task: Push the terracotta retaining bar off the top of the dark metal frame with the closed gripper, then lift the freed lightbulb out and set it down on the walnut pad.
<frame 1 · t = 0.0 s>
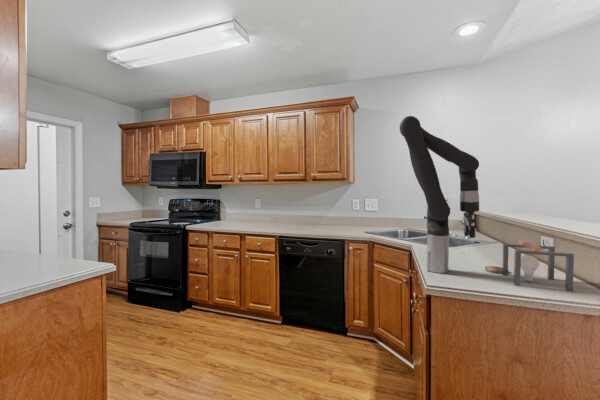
hand: (470, 236, 127), 17 cm above the table, tool pointing down, fingers open, 8 cm apart
pad: (496, 271, 132), on the table
frame: (534, 281, 116), on the table
bar: (529, 245, 116), point 15 cm above the table, slide at 0.0 cm
lightbulb: (528, 281, 117), on the table
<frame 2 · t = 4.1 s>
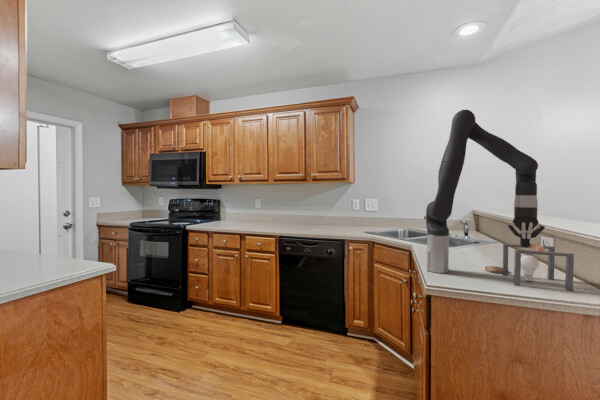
hand: (524, 247, 117), 14 cm above the table, tool pointing down, fingers closed
bar: (532, 245, 116), point 15 cm above the table, slide at 1.1 cm, touching gripper
everything else where it was.
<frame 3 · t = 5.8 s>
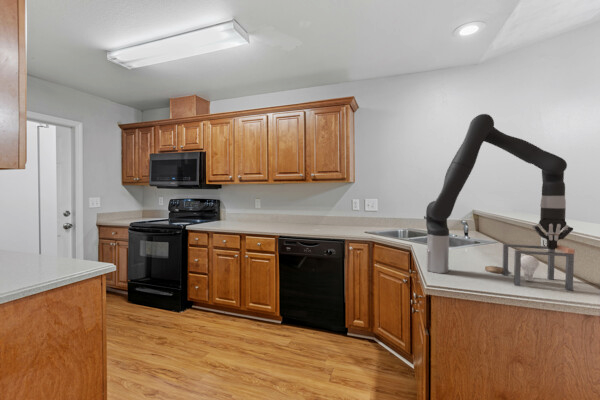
hand: (551, 249, 114), 14 cm above the table, tool pointing down, fingers closed
bar: (560, 247, 113), point 15 cm above the table, slide at 10.2 cm, touching gripper
everything else where it was.
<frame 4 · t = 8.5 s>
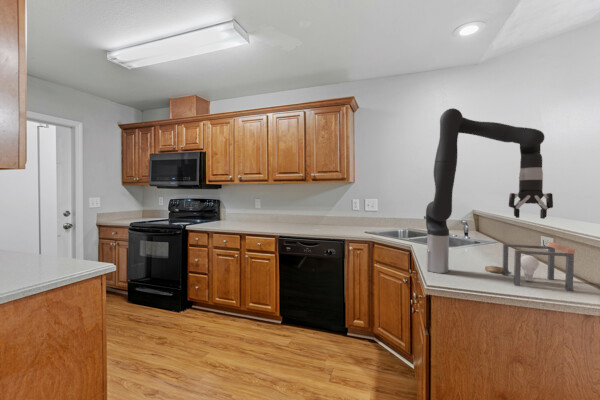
hand: (529, 218, 116), 27 cm above the table, tool pointing down, fingers open, 8 cm apart
bar: (560, 247, 113), point 15 cm above the table, slide at 10.2 cm
everything else where it was.
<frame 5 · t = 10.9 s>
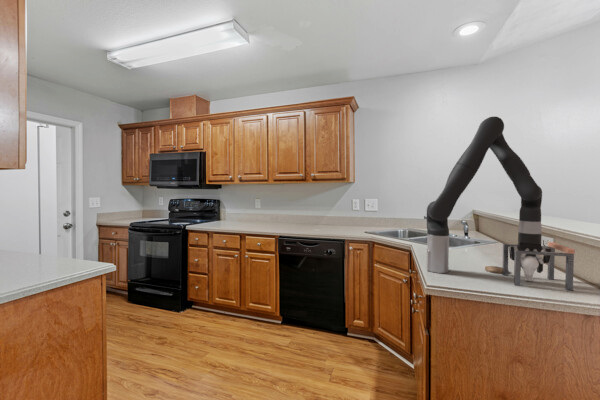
hand: (528, 271, 117), 4 cm above the table, tool pointing down, fingers closed on lightbulb, 6 cm apart
lightbulb: (528, 281, 117), on the table, touching gripper
everything else where it was.
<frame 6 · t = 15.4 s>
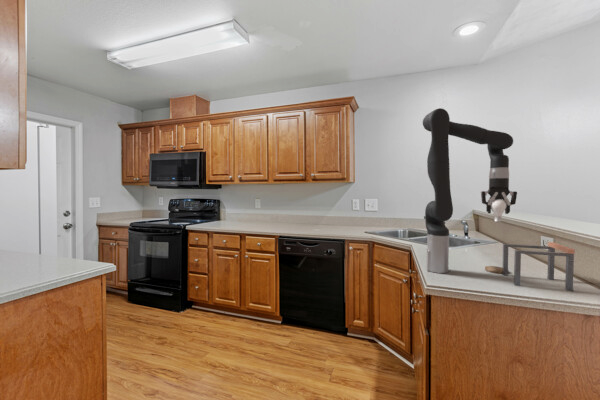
hand: (497, 213, 131), 27 cm above the table, tool pointing down, fingers closed on lightbulb, 6 cm apart
lightbulb: (497, 222, 131), point 23 cm above the table, touching gripper
everything else where it was.
when the fingers open (7 cm above the table, at t = 20.0 s): lightbulb drops 1 cm, resting on pad.
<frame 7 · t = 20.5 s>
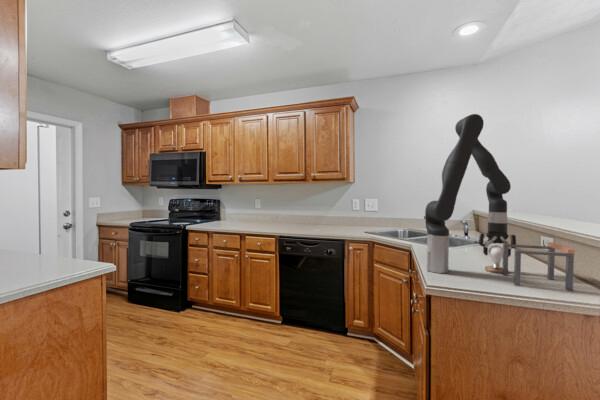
hand: (496, 255, 131), 7 cm above the table, tool pointing down, fingers open, 8 cm apart
lightbulb: (496, 268, 132), point 1 cm above the table, touching pad
everything else where it was.
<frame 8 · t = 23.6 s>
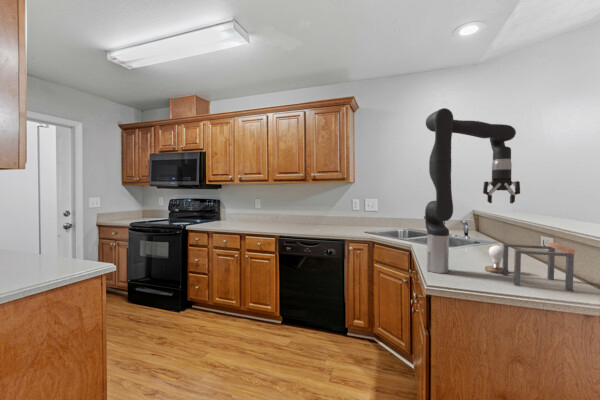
hand: (500, 203, 133), 32 cm above the table, tool pointing down, fingers open, 8 cm apart
nothing on the table moved.
at the end: bar slide at 10.2 cm; lightbulb inside the target area on the pad (0.1 cm from its centre), point 1.0 cm above the pad's base; lightbulb tilted 1° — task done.
